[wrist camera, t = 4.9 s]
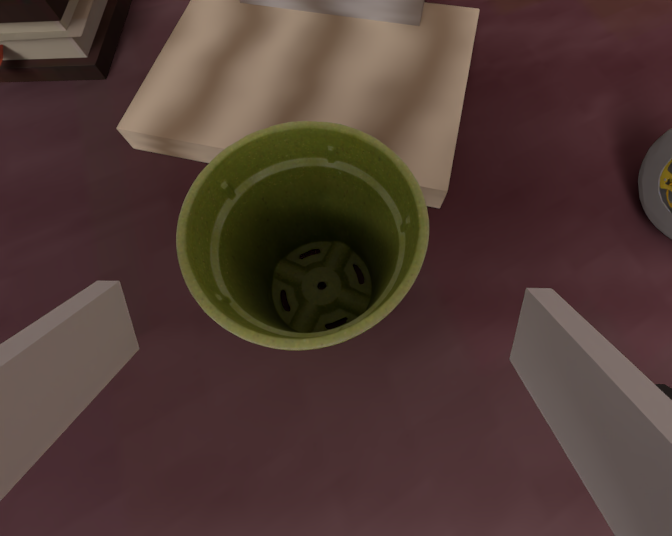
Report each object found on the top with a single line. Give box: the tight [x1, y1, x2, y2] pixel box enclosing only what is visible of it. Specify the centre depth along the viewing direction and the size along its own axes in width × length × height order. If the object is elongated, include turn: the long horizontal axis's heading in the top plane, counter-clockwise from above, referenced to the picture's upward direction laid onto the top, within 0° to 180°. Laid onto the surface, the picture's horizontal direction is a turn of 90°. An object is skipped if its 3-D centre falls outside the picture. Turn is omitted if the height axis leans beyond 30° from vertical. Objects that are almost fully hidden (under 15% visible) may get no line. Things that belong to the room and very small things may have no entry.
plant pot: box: [176, 121, 429, 350], centre depth 17 cm, size 9×9×9 cm
